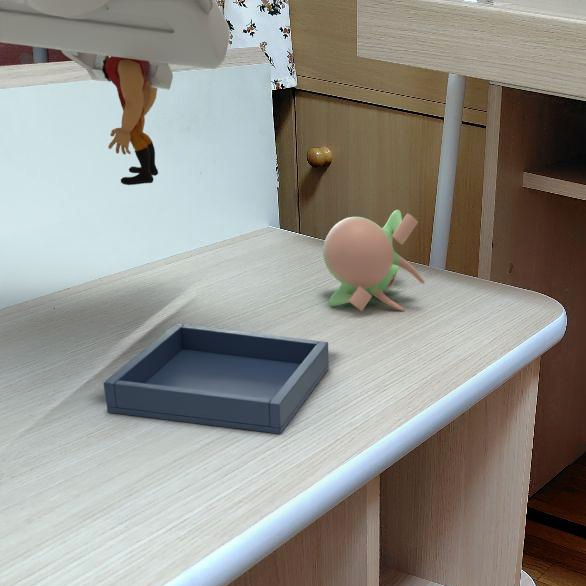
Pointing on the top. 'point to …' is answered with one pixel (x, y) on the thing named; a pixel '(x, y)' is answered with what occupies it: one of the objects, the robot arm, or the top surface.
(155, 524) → the top surface
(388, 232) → the pink green toy creature
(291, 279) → the top surface
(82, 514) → the top surface
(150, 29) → the robot arm
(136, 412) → the blue tray
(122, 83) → the action figure
